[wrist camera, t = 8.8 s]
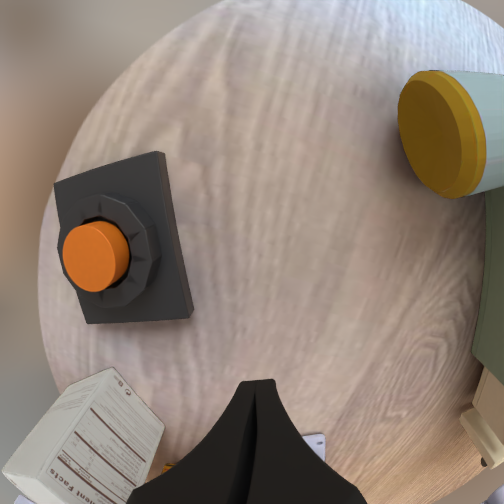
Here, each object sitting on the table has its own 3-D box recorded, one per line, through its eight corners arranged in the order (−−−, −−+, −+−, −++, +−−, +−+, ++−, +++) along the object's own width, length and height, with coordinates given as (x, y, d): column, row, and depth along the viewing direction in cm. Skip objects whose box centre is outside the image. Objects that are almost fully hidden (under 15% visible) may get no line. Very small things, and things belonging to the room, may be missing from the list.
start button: (136, 278, 15) (122, 289, 14) (87, 284, 16) (72, 294, 14) (122, 215, 15) (106, 219, 13) (73, 226, 15) (56, 231, 13)
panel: (194, 309, 18) (182, 331, 15) (95, 316, 19) (75, 334, 16) (165, 152, 16) (145, 147, 13) (65, 182, 17) (37, 184, 14)
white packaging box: (116, 437, 22) (69, 529, 10) (67, 383, 21) (-4, 469, 9) (169, 426, 21) (126, 544, 9) (114, 364, 20) (32, 478, 8)
